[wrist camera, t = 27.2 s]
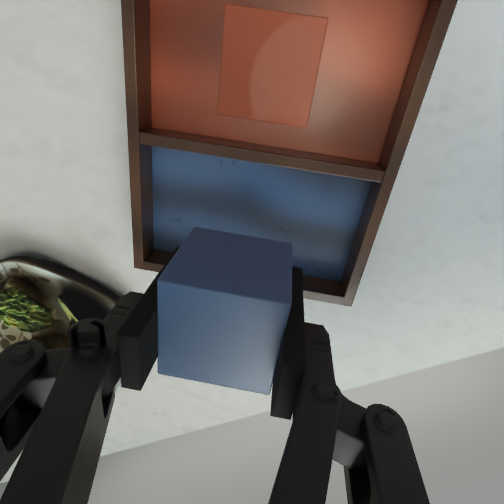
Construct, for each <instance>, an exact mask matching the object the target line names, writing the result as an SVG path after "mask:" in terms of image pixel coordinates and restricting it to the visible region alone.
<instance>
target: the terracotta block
mask: <svg viewBox="0 0 504 504" xmlns="http://www.w3.org/2000/svg"><path fill="white" fill-rule="evenodd" d="M327 24H328V18H327V17H320V16H313V15H306V14H298V13H291V12H284V11H277V10H270V9H263V8H256V7H248V6H241V5H234V4H225V13H224V27H223V40H222V54H221V68H220V81H219V95H218V108H217V114H218V115H223V116H230V117H236V118H243V119H249V120H256V121H262V122H268V123H275V124H281V125H288V126H294V127H301V128H307V124H308V119H309V114H310V109H311V104H312V99H313V94H314V89H315V84H316V79H317V74H318V69H319V64H320V59H321V54H322V49H323V44H324V39H325V34H326V29H327Z"/></svg>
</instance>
